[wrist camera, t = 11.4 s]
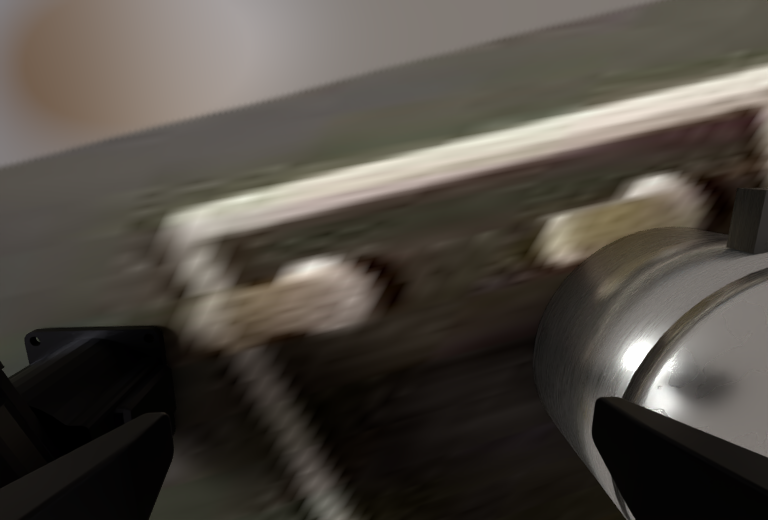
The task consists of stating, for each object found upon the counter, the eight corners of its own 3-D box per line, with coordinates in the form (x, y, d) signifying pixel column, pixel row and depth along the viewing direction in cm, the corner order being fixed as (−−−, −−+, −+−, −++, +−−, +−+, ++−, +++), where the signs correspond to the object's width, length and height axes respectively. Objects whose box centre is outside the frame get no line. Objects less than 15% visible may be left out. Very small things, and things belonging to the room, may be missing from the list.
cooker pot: (520, 493, 25) (581, 617, 18) (547, 183, 21) (639, 192, 14) (739, 482, 26) (874, 596, 19) (807, 181, 22) (1014, 189, 15)
